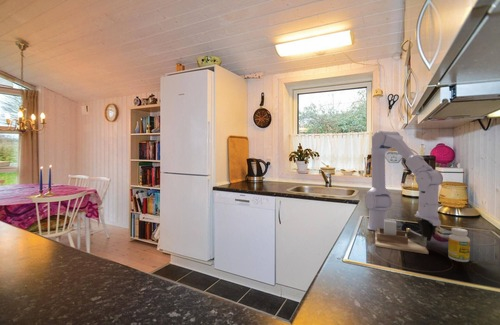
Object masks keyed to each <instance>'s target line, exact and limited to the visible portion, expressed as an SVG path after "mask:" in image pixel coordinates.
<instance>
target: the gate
mask: <svg viewBox="0 0 500 325" xmlns="http://www.w3.org/2000/svg"><path fill="white" fill-rule="evenodd" d="M405 235H406V237H408V238H409V239H411V240H413V241H415V242H417V243H419V244H421V245H423V246H425V247H427V245H428V244H427V242H428V241H427V237H425V236H423V235H422V234H420V233H418V232H416V231H414V230H412V229H411V228H408V227H406V231H405Z"/></svg>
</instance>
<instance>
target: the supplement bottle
mask: <svg viewBox="0 0 500 325" xmlns="http://www.w3.org/2000/svg"><path fill="white" fill-rule="evenodd" d="M468 234H469V232H468V229H465V228H464V229H463V228H460V227H459V228H458V227H451V234H449V235H448V247H447V248H448V250H447V251H448V253H447V254H448V258H449V259H450V260H452V261H453V260H454V261H456V262H460V263H468V262H470V256H471V253H470V252H471V239H470V237H469V236H468Z"/></svg>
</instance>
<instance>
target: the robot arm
mask: <svg viewBox="0 0 500 325" xmlns="http://www.w3.org/2000/svg"><path fill="white" fill-rule="evenodd" d="M403 139H404V137H403V136H402V135H401V134H400V133H399V132H398V131H385V130H377V131H375V132H374V134H373V135H372V136H371V148H370V149H371V151H370V154H371V188H370V189H369V190H367V191H366V197H365V201H364V202H365V205H366V207H367V209H368V210H369V211H368V213H369V214H368V223H367V230H371V231H374V232H375V231H377V228H383V229H384V219H387V220H388V211H389V208H391V206H392V204H393V203H392V202H393V200H392V198H391V192H390V191H389V190H388V189H387V188H386V153H387V152H388V151H389V150H391V149H394V150H395V151H396V152H398V154H399V155H400V156H401V157H402V158H404V160H405V166H407V168H408V169H409V170H410V171H411V172H412V174H413V175H414V176H415V177H414V179H415V182H416V184H417V189H418V206H417V207H418V209H417V211H416V212H415V214H414V217H416V218H419V219H417V220H416V222H417V223H418V226H419V228H420V232H421V235H423V236H425V237H427V242H430V241H431V239H432V237H433V234H434V231H435V230H436V228H437V227H441V226H442V225H441V223H442V222H441V221H442V220H440V219H439V216H438V212H439V190H440V189H439V188H440V187H439V186H440V185H442V183H443V182H444V176H443V174H442V173H441V171H439V170H437V169H434V168H433V167H432V166H431V165H429V164H428V163H427V161H425V157H424V156H422V155H419V154H414V152H413V151H412V150H411V148H410V147H409V146H408V145H407V143H406V142H405V141H404V140H403Z"/></svg>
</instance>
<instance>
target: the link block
mask: <svg viewBox="0 0 500 325" xmlns="http://www.w3.org/2000/svg"><path fill="white" fill-rule="evenodd" d="M397 224H398V223H397V220H393V219H388V218H387V219H384V234H389V235H396V230H397Z"/></svg>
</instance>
